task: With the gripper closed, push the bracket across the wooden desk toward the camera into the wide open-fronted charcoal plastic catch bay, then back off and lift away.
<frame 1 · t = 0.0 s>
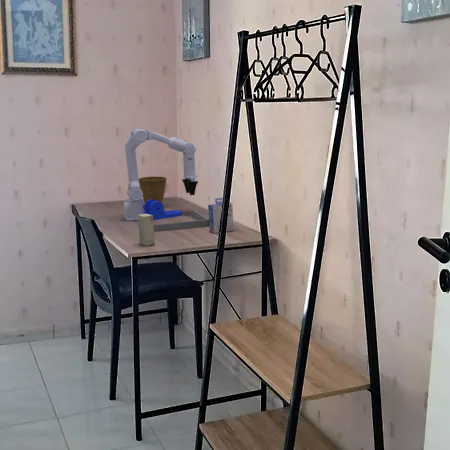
hand: (190, 193, 316), 10 cm above the table, fingers open, 7 cm apart
bracket: (164, 217, 314), on the table
catch bay: (173, 223, 296), on the table
plant pot: (154, 208, 339), on the table
ink cartridge box: (221, 231, 277), on the table
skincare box: (147, 244, 258), on the table
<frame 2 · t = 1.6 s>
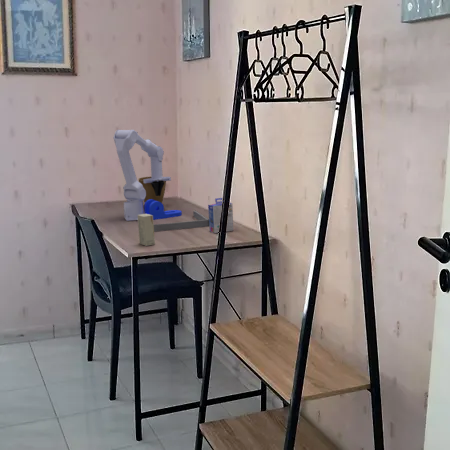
hand: (158, 195, 325), 8 cm above the table, fingers closed
nothing on the table moved.
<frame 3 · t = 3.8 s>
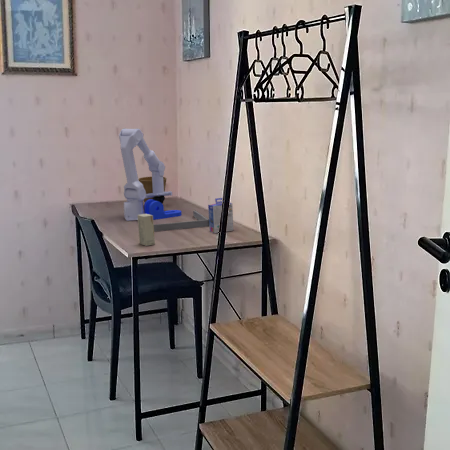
hand: (159, 210, 325), 1 cm above the table, fingers closed
nothing on the table moved.
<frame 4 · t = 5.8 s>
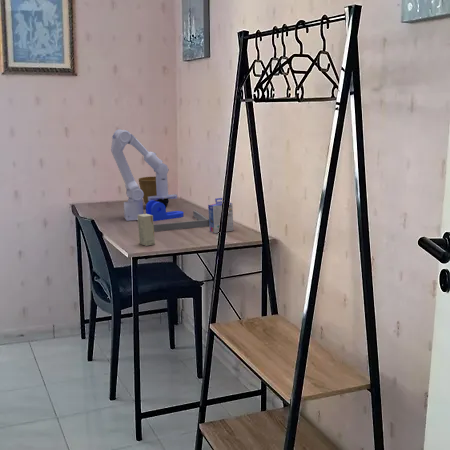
hand: (163, 213, 316), 1 cm above the table, fingers closed
bracket: (166, 218, 311), on the table, touching gripper
everything else where it was.
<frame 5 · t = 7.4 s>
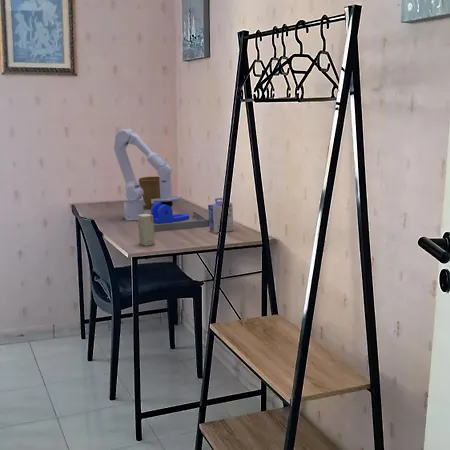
hand: (167, 216, 308), 1 cm above the table, fingers closed
bracket: (172, 221, 303), on the table, touching gripper
everything else where it was.
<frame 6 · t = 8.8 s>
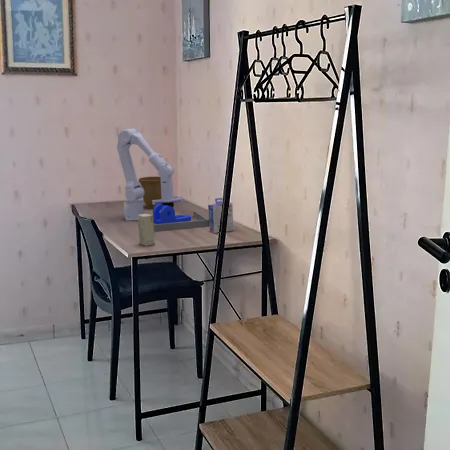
hand: (168, 217, 305), 1 cm above the table, fingers closed
bracket: (174, 222, 300), on the table
everything else where it was.
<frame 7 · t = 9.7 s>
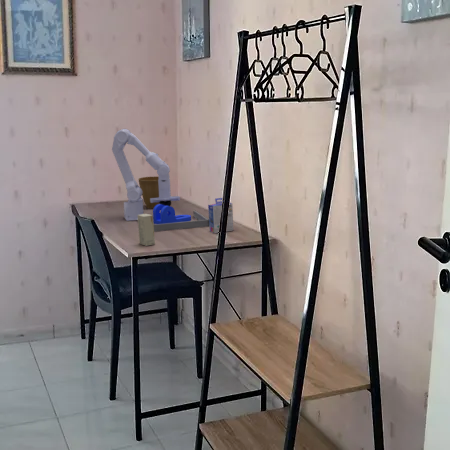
hand: (165, 215, 310), 1 cm above the table, fingers closed
nothing on the table moved.
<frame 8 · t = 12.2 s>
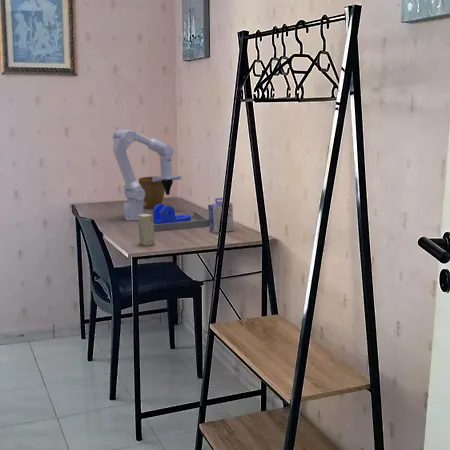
hand: (167, 194, 321), 9 cm above the table, fingers closed
nothing on the table moved.
at the end: bracket inside the target area (4.1 cm from its centre), on the table; bracket tilted 0°; bracket moved 14.8 cm from its start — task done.
